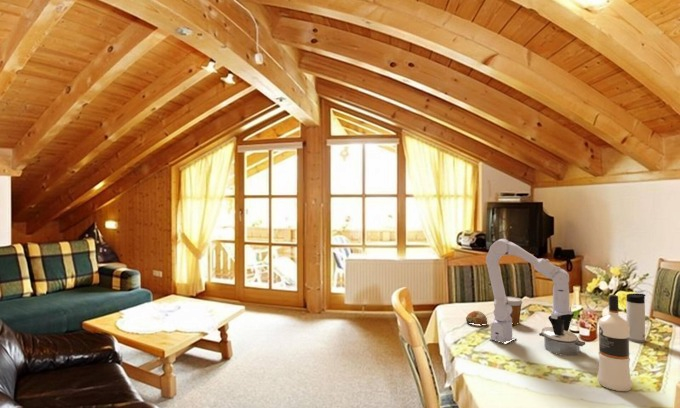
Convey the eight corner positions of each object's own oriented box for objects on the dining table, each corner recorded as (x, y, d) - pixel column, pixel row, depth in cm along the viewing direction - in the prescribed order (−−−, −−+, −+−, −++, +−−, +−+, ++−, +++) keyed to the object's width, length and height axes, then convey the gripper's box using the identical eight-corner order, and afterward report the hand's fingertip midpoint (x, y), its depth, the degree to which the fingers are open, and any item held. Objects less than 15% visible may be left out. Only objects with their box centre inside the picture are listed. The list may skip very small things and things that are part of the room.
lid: (565, 346, 146) (567, 332, 145) (535, 334, 157) (536, 321, 156) (583, 340, 152) (584, 326, 152) (552, 328, 163) (553, 316, 163)
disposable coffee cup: (520, 327, 180) (520, 302, 180) (499, 323, 186) (499, 299, 186) (524, 322, 188) (524, 298, 188) (504, 318, 194) (504, 295, 193)
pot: (578, 359, 144) (577, 346, 144) (534, 347, 156) (534, 335, 156) (589, 351, 151) (589, 338, 151) (547, 340, 164) (547, 328, 164)
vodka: (635, 395, 118) (635, 300, 117) (600, 389, 122) (599, 297, 121) (627, 381, 126) (626, 293, 126) (594, 376, 130) (593, 290, 130)
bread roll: (487, 334, 182) (494, 319, 182) (467, 325, 182) (474, 310, 182) (479, 327, 192) (486, 313, 192) (461, 318, 192) (468, 304, 192)
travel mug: (649, 343, 158) (649, 296, 158) (631, 342, 160) (631, 295, 159) (640, 337, 164) (640, 292, 164) (623, 337, 166) (623, 291, 165)
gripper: (564, 305, 146) (565, 339, 146) (578, 298, 155) (579, 330, 155) (545, 301, 151) (546, 334, 151) (560, 295, 160) (560, 326, 161)
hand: (561, 332), depth 154 cm, fingers open, 7 cm apart
